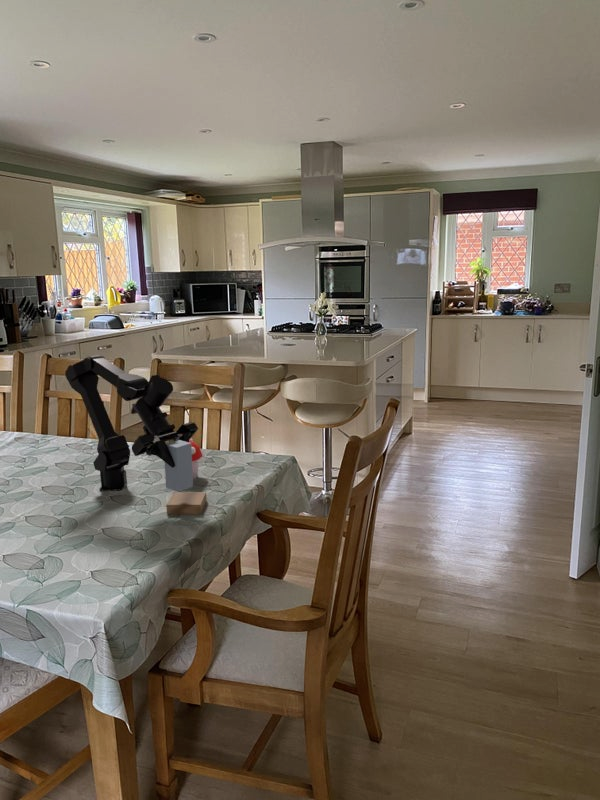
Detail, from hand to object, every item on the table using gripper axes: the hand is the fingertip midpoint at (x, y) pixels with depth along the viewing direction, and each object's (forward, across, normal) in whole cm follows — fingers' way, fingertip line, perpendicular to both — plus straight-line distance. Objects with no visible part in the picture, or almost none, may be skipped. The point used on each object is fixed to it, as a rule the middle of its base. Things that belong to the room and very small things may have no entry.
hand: (182, 464), depth 156 cm
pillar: (+4, 0, -6) cm, 7 cm away
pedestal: (+8, -3, -11) cm, 14 cm away
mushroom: (-5, -19, -24) cm, 31 cm away
